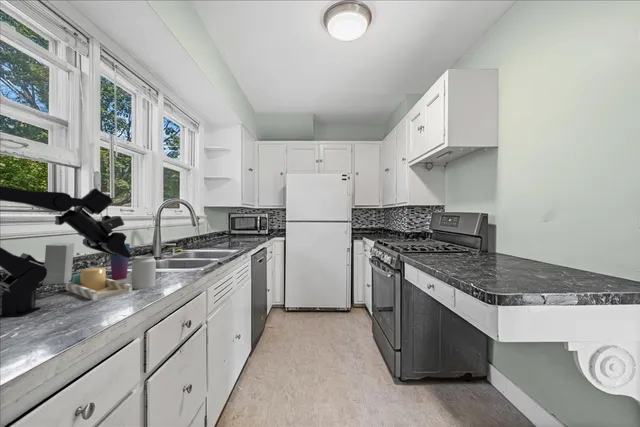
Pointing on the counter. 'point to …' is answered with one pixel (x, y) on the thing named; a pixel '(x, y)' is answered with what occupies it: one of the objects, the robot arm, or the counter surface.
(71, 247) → the skincare box
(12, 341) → the counter surface
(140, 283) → the can
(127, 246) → the cup
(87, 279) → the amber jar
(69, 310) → the counter surface
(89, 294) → the tray
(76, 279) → the pusher plate
